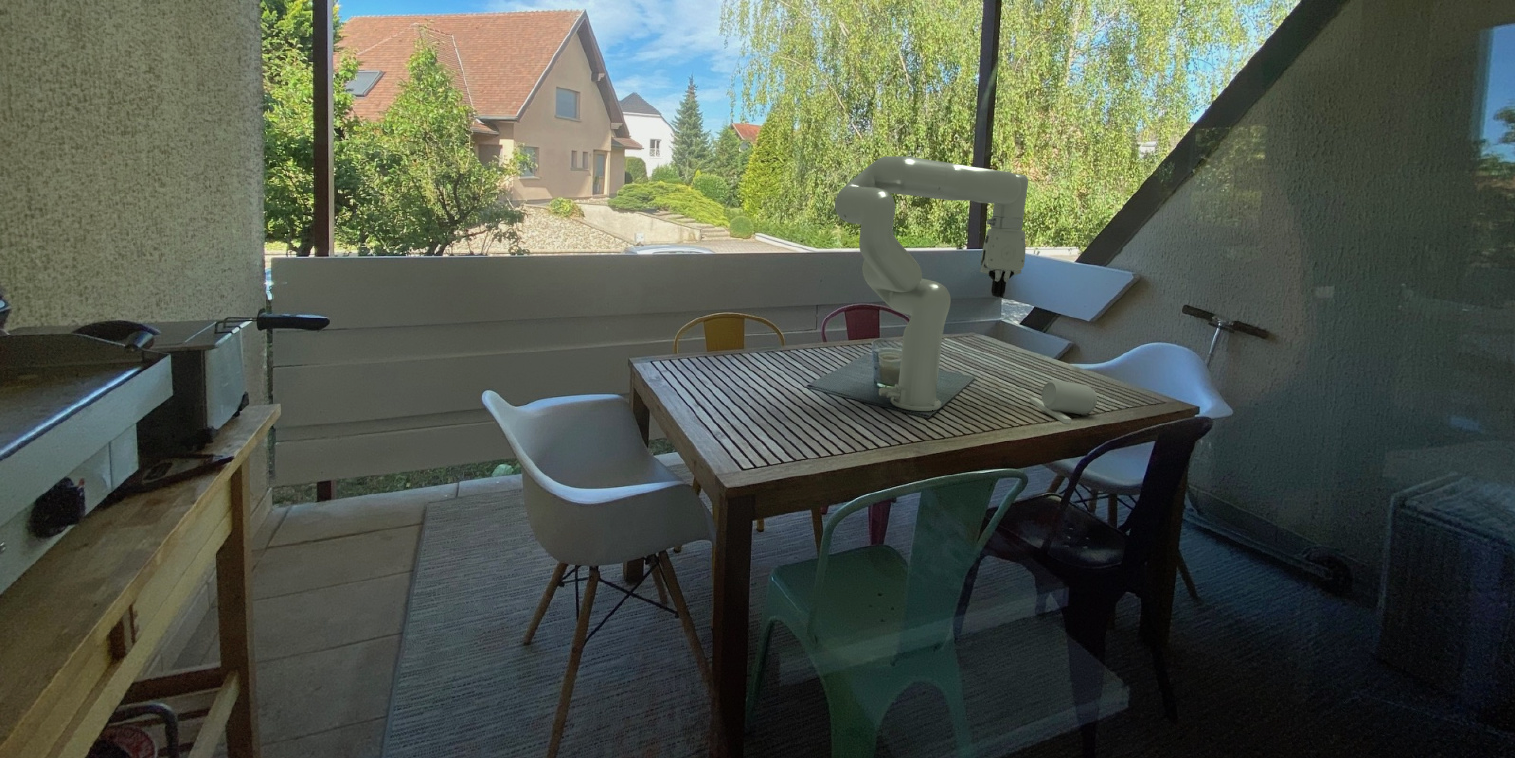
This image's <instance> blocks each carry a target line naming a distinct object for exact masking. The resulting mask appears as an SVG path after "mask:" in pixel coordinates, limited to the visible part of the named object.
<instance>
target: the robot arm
mask: <svg viewBox="0 0 1515 758" xmlns="http://www.w3.org/2000/svg"><path fill="white" fill-rule="evenodd" d="M1028 187H1029V179H1028V177H1027V175H1024V174H1018V173H1012V172H1010V171H1003V170H998V169H996V170H995V169H989V168H983V167H975V166H969V165H965V164H959V163H953V162H946V161H938V160H932V159H926V158H920V157H919V158H918V157H915V156H907V155H906V156H904V155H902V156H900V155H899V156H890V155H887V156H882V157H880V158H878V159H877V160H875V161H873V162H872V163H870V164H869V165H868V166H867V167H866V168H864V170H862V171H861V172H860V173H858V175H856V176H855V177H854V178H853V179H852V180H851V181H849V182H848V183H847V184H846V185H844V186H843V188H842V189H841V190H840V191H839V192H838V194H837V196H836V198H835V203H834V208H835V209H834V210H835V213H836V215H837V216H838V218H840V219H841V220H842V221H844V222H846V223H849V224H856V225H861V226H860V229H859V230H860V232H859V241H858V245H859V251H860V254H861V256H862V257H863V259H864V260H863V263H862V268H861V269H862V270H861V271H862V275H863V278H864V280H865V283H867V285H868V286H869V287H870V288H871V290H872V291H873V292H875V294H876V295H877V296H878V297H879V298H880V299H881V300H882V301H883V302H885V304H886V305H887V306H889V308H891V309H892V310H894V311H895V312H898V313H900V314H904V315H907V316H910V319H909V320H908V322H907V324H906V326H905V328H904V330H903V336H902V345H901V354H900V355H901V356H900V357H901V358H900V365H899V366H900V367H899V375H898V383H894V387H893V386H892V387H890V388H887V387H880V388H879V389H878V395H879V396H880V397H881V396H883V397H885V396H886V398H890V403H891V404H892V405H893V406H895V407H898V408H900V409H904V410H908V411H913V412H914V411H916V412H933V411H937V410H939V409H940V408H941V407H942V402H941V400H939V399H938V398H936V396H937V388H938V378H939V369H940V368H939V367H940V360H941V353H942V352H941V351H942V343H943V335H944V329H945V324H946V321H947V320H946V319H947V317H948V314H949V311H950V307H951V303H952V302H951V295H950V292H949V290H948V288H947V287H946V286H944V285H943V283H942V284H941V283H940V282H938V281H934V280H930V279H925V278H923V272H922V268H921V266H920V265H919V263H918V262H917V261H916V259H915V258H914V257H913V255H911V253H910V252H909V251H908V250H907V249H906V248H905V247H904V246H903V245H902V244H901V242H899V240H898V239H897V238H896V236H895V235H894V228H893V226H894V219H895V213H896V205H895V204H896V203H895V201H894V198H893V196H892V194H897V195H905V196H911V197H912V196H913V197H918V198H919V197H921V198H928V199H935V200H944V201H945V200H946V201H972V202H975V203H979V204H980V203H981V204H993V207H992V208H993V209H992V216H991V218H987V219H986V225H989V226H990V228H988V229H987V232H986V235H985V238H984V243H983V245H982V246H983V247H982V251H981V255H980V256H981V258H980V266H981V267H980V269H979V272H980V273H983V274H986V275H988V276H989V277H990V280H991V281H992V284H991V296H992V297H995V298H1003V297H1004V294H1005V292H1006V285H1007V282H1009V280H1010V279H1011V278H1012V277H1014V276H1017V275H1020V274H1021V273H1022V270H1023V269H1024V267H1025V261H1026V250H1027V249H1026V246H1027V245H1026V242H1027V241H1026V230H1025V231H1024V230H1023V225H1024V224H1023V222H1024V215H1025V207H1026V201H1027V194H1028ZM932 410H933V411H932Z"/></svg>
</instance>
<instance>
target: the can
mask: <svg viewBox="0 0 1515 758" xmlns="http://www.w3.org/2000/svg"><path fill="white" fill-rule="evenodd" d="M1041 401H1042V402H1043V403H1044V406H1045V407H1046V408H1048V409H1051V410H1057V411H1059V412H1064V413H1070V414H1075V415H1076V414H1077V415H1080V414H1081V415H1083V416H1084V415H1086V414H1090V413H1092V412H1093V411H1094V410H1095V408H1096V406H1097V404H1098V395H1097V392H1096V391H1095V390H1094V389H1092V387H1091V386H1090V385H1088V384H1087V385H1086V384H1082V383H1081V384H1080V383H1075V382H1071V381H1070V382H1069V381H1066V380H1065V381H1063V380H1060V379H1051V380H1049V381H1047V383H1046V384H1045V385H1044V386H1043V387H1042V390H1041Z"/></svg>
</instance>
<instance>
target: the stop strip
mask: <svg viewBox="0 0 1515 758" xmlns="http://www.w3.org/2000/svg"><path fill="white" fill-rule="evenodd" d="M1029 403H1031V404H1032V405H1034V406H1035V407H1036V408H1039V409H1040V410H1041V411H1043V412H1045V413H1046V414H1048V415H1050V416H1052V417H1053V418H1055V419H1056V420H1058V421H1059V422H1061V423H1063V424H1065V425H1067V424H1069V425H1071V424H1072V418H1070V417H1069V416H1067V415H1066V414H1064V413H1062V411H1057V410H1051V409H1048V408H1046V407H1045V406H1044V403H1043V402H1042V399H1041V400H1040V399H1039V398H1037V397H1029Z"/></svg>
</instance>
